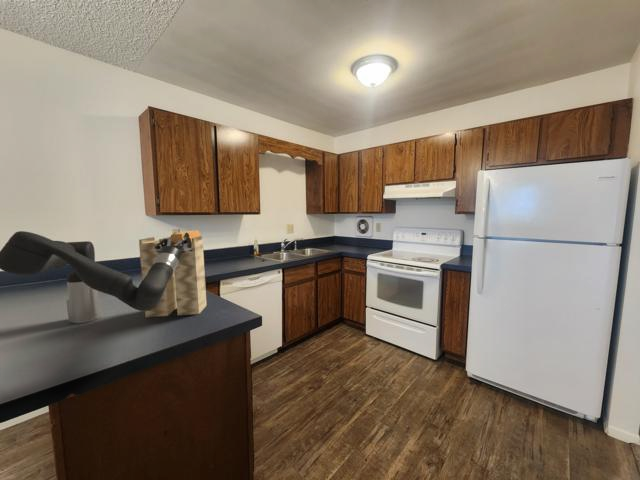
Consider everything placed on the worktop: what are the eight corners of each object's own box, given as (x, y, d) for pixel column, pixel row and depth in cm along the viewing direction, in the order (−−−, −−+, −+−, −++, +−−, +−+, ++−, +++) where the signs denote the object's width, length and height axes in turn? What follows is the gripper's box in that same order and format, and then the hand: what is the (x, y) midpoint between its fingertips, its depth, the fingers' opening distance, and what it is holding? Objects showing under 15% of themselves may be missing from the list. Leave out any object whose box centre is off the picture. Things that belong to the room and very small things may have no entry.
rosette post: (145, 317, 113) (138, 239, 110) (157, 307, 124) (152, 237, 121) (167, 315, 114) (161, 239, 111) (178, 306, 125) (172, 236, 122)
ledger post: (177, 315, 115) (171, 239, 111) (186, 306, 126) (182, 236, 122) (199, 314, 116) (194, 238, 112) (206, 305, 127) (202, 236, 123)
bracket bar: (172, 244, 106) (171, 234, 105) (190, 238, 125) (190, 230, 125) (182, 243, 106) (181, 233, 106) (199, 238, 126) (199, 230, 125)
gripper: (149, 269, 98) (166, 242, 111) (189, 268, 99) (201, 241, 113) (142, 253, 93) (160, 227, 107) (184, 252, 95) (197, 226, 109)
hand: (181, 234), depth 110 cm, fingers closed on bracket bar, 4 cm apart
